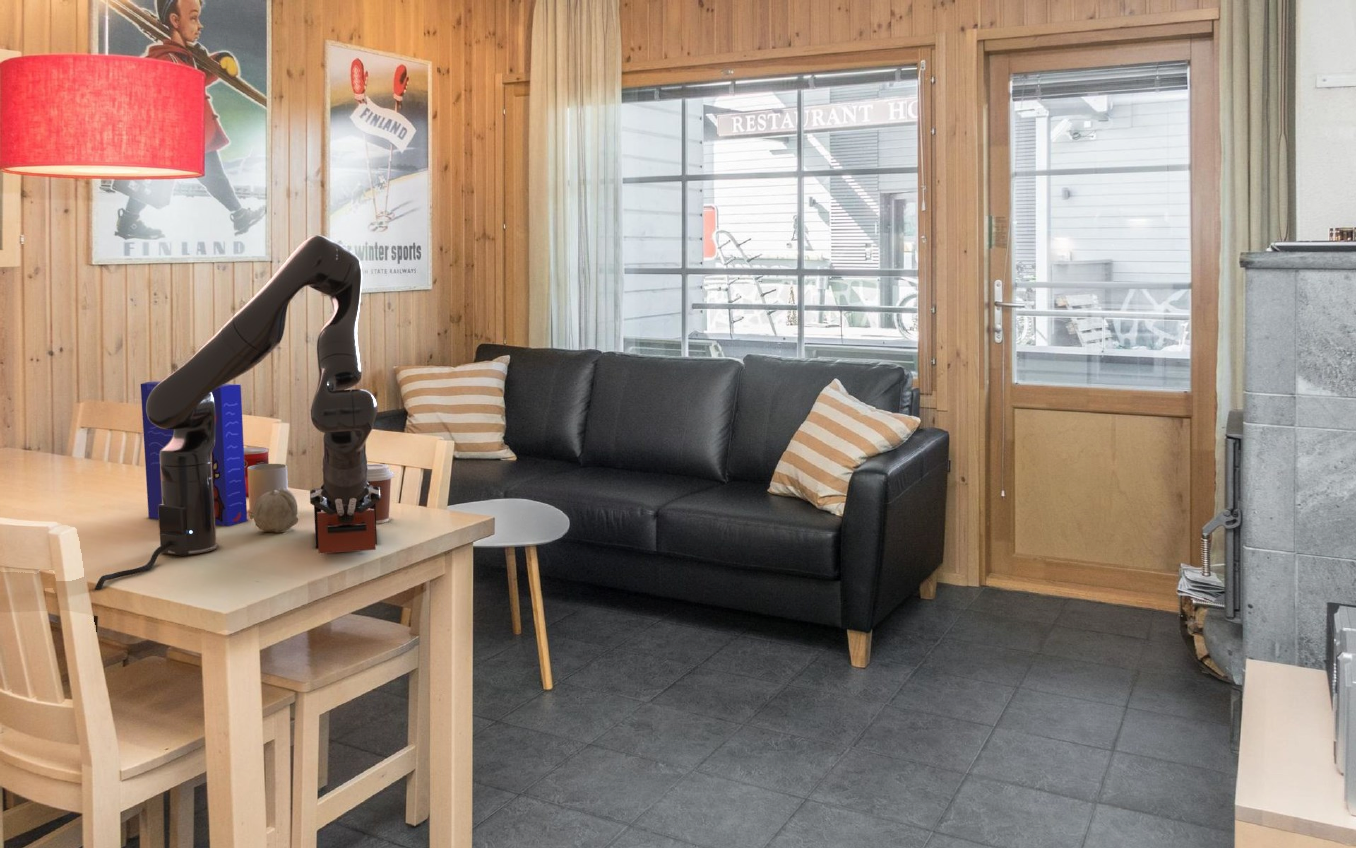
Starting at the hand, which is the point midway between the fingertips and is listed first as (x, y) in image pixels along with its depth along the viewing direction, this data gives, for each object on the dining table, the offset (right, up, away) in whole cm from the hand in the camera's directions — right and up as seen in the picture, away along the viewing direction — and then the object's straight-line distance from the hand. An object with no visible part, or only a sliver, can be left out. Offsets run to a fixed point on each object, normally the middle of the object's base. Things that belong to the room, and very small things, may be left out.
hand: (345, 521), depth 214 cm
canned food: (-41, +1, +63) cm, 76 cm away
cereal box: (-43, -3, +34) cm, 55 cm away
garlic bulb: (-22, -4, +23) cm, 32 cm away
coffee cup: (-4, -3, +33) cm, 33 cm away
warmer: (-5, -5, +16) cm, 18 cm away
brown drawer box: (-1, -5, +6) cm, 8 cm away
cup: (-30, -1, +44) cm, 54 cm away
